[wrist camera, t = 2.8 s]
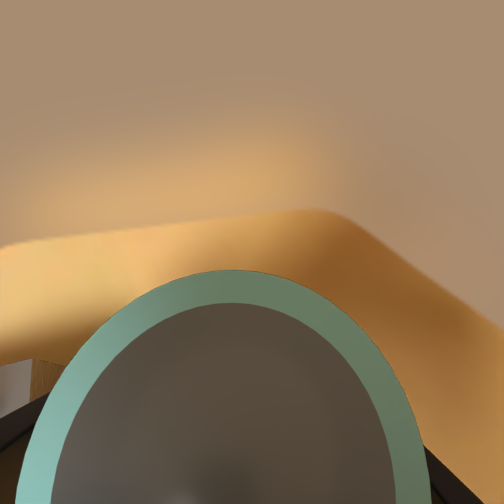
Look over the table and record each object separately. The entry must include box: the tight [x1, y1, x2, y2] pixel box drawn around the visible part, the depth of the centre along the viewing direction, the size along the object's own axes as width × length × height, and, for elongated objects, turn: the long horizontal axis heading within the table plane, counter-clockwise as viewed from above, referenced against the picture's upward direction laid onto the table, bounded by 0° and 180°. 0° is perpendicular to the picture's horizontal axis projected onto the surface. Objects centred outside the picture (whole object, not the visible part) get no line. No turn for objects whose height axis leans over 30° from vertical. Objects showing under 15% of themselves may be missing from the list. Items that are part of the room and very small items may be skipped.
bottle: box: [15, 270, 432, 504], centre depth 9 cm, size 5×5×14 cm
